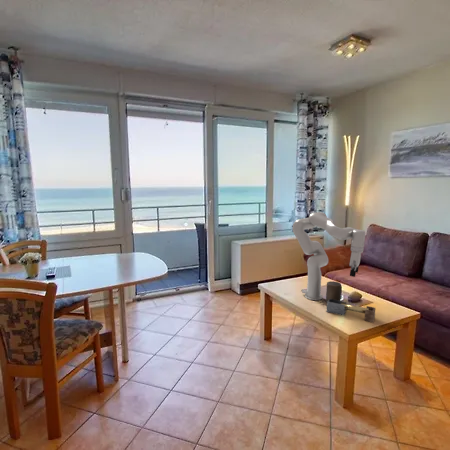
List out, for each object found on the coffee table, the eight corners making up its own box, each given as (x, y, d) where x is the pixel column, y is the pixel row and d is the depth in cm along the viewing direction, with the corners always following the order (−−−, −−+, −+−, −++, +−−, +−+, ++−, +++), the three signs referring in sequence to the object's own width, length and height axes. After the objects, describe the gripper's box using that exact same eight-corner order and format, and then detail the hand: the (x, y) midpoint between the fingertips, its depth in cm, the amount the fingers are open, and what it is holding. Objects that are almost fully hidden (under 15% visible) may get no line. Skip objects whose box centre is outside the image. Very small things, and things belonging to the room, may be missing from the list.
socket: (364, 320, 186) (365, 309, 185) (365, 316, 192) (366, 306, 191) (373, 322, 184) (374, 311, 182) (374, 318, 189) (375, 307, 188)
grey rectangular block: (326, 311, 198) (327, 301, 197) (328, 308, 203) (329, 298, 202) (344, 315, 193) (344, 305, 191) (345, 312, 198) (346, 302, 197)
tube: (340, 309, 194) (341, 304, 194) (341, 307, 198) (342, 302, 197) (367, 315, 186) (368, 309, 186) (368, 313, 189) (368, 307, 189)
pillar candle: (341, 305, 209) (342, 284, 206) (326, 303, 211) (327, 283, 208) (338, 299, 218) (340, 280, 216) (324, 298, 220) (326, 278, 218)
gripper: (353, 245, 202) (350, 269, 206) (348, 250, 188) (345, 276, 191) (365, 247, 198) (362, 271, 202) (361, 252, 184) (357, 279, 187)
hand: (353, 274), depth 196 cm, fingers open, 9 cm apart
